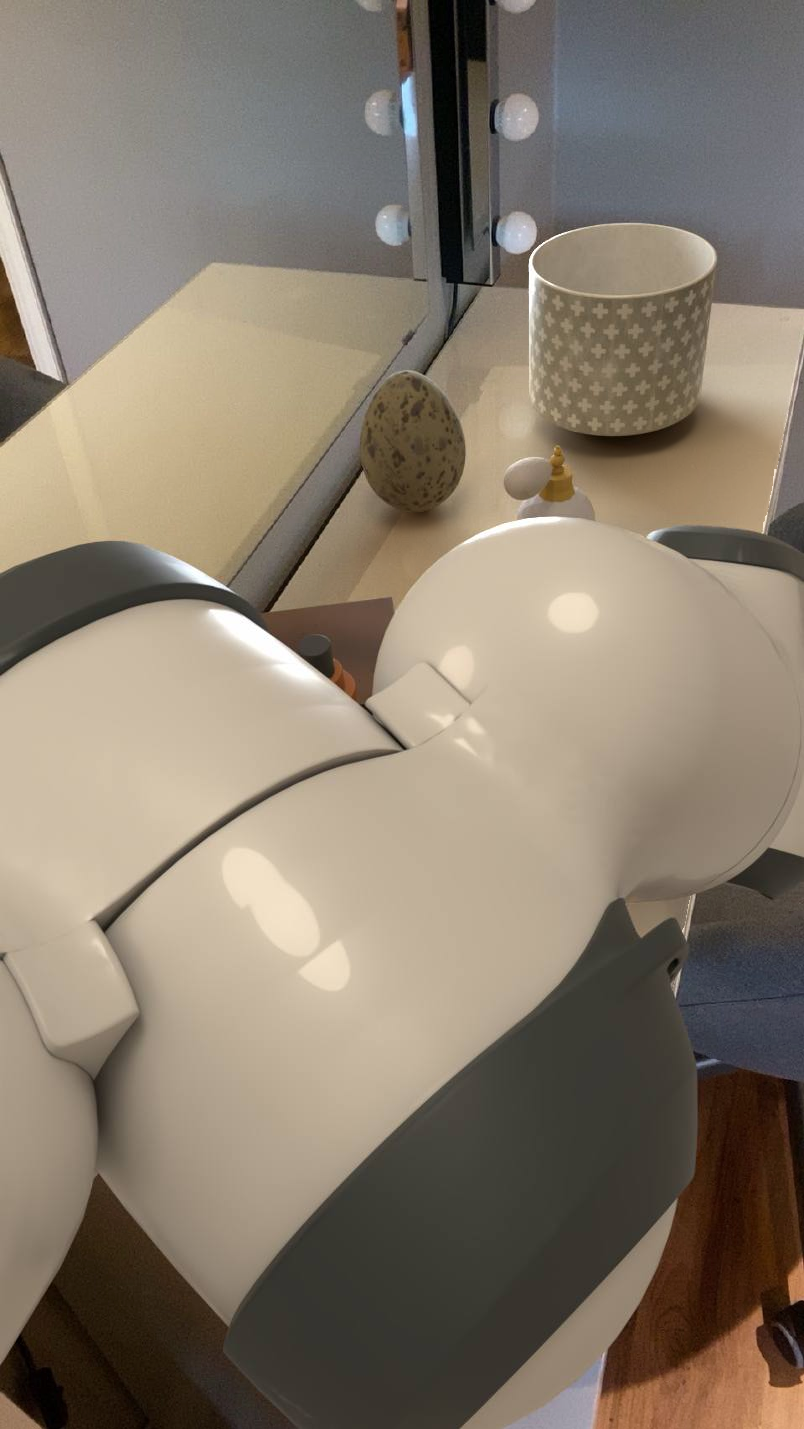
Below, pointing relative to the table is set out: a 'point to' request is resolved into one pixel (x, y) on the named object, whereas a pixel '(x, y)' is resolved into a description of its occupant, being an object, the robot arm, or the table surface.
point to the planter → (619, 327)
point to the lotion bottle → (326, 662)
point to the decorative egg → (412, 443)
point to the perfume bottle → (546, 489)
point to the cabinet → (340, 634)
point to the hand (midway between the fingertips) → (409, 727)
